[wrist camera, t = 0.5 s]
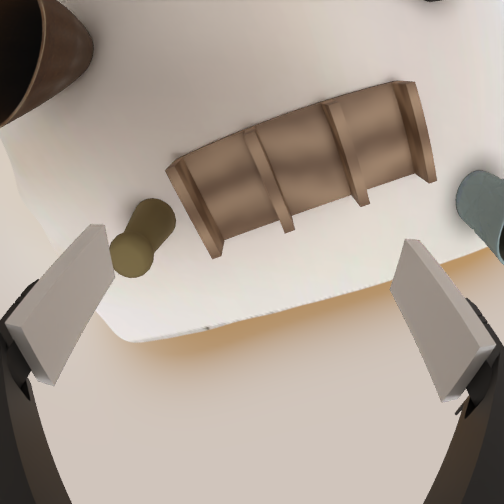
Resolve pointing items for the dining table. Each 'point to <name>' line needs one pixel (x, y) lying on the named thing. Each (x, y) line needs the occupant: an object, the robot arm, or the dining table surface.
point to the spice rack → (304, 162)
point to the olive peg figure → (142, 238)
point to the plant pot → (38, 54)
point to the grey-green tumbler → (484, 208)
